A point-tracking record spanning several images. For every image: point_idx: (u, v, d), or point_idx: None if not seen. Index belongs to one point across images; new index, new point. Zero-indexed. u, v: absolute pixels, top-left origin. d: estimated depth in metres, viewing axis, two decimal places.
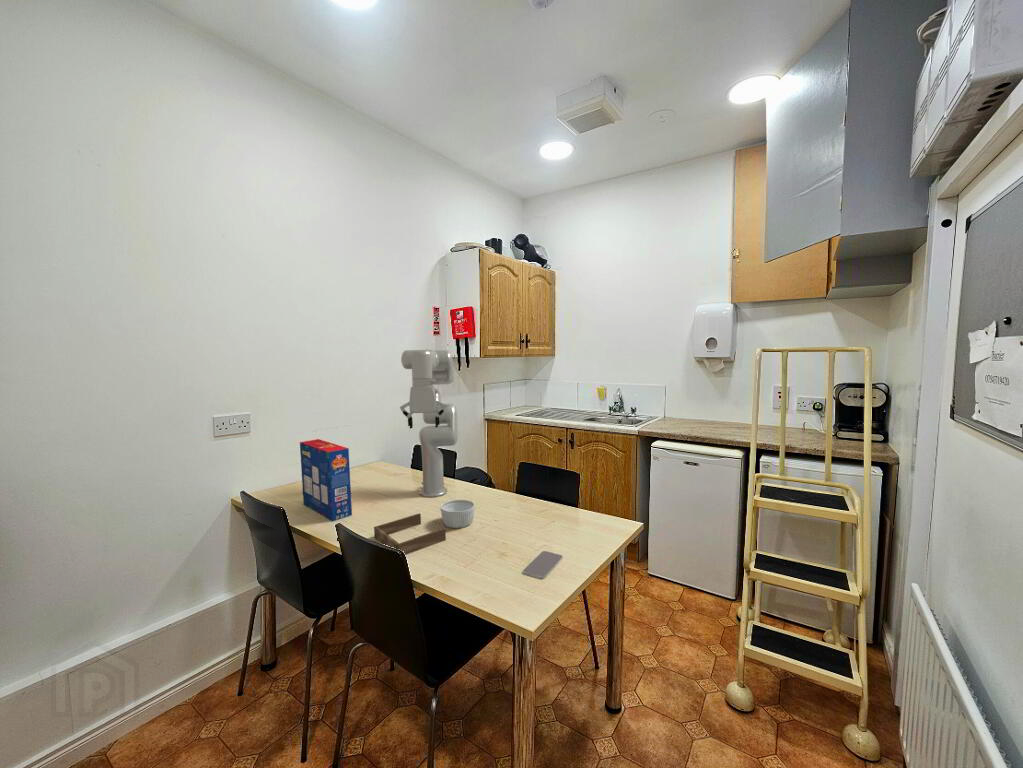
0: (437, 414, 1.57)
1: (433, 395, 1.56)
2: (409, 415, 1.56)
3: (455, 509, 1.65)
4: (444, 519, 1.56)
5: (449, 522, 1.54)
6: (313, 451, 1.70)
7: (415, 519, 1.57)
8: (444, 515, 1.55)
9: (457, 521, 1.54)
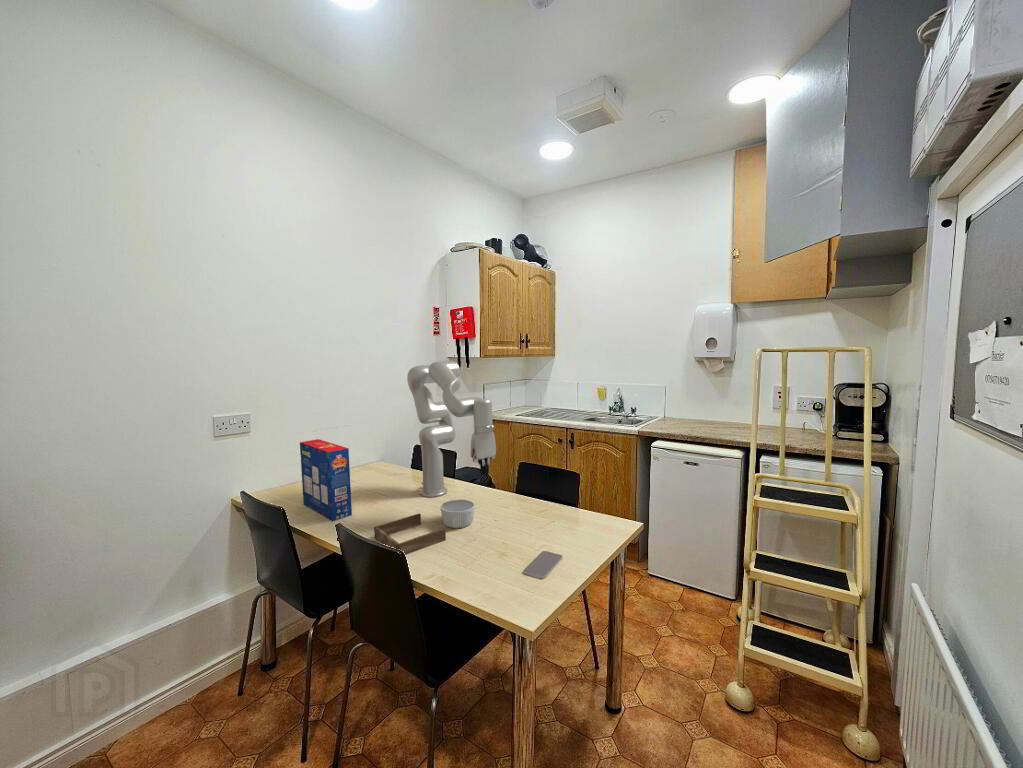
0: (489, 462, 1.66)
1: (494, 440, 1.67)
2: (484, 463, 1.65)
3: (455, 509, 1.65)
4: (444, 519, 1.56)
5: (449, 522, 1.54)
6: (313, 451, 1.70)
7: (415, 519, 1.57)
8: (444, 515, 1.55)
9: (457, 521, 1.54)
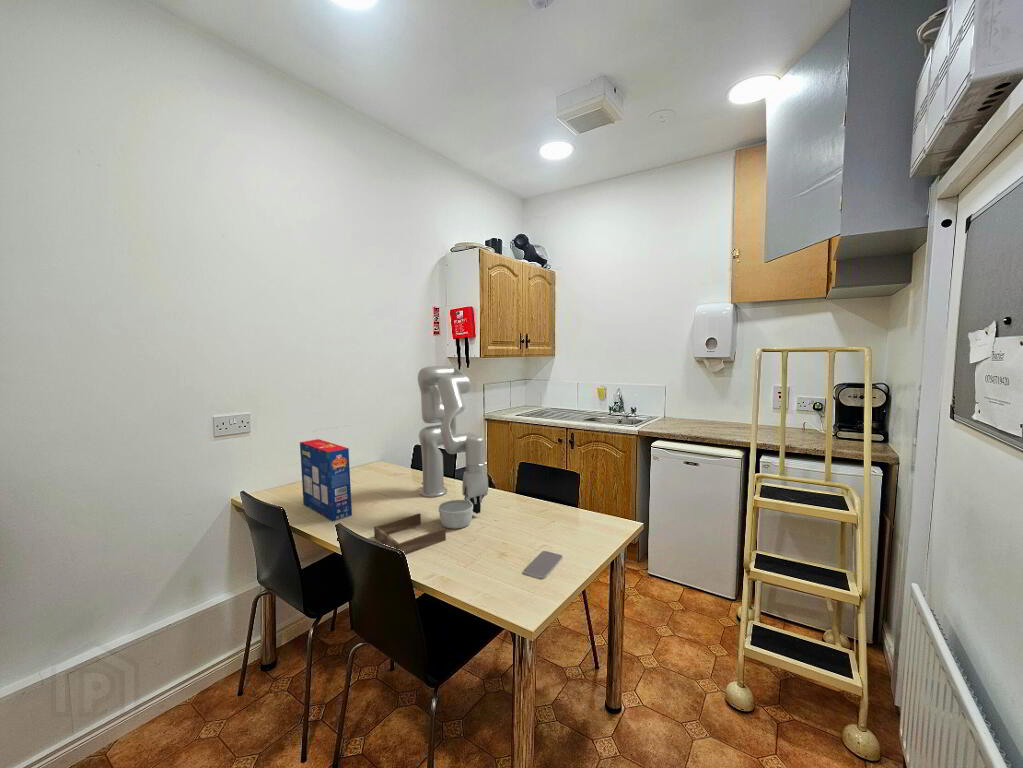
0: (481, 500, 1.65)
1: (487, 477, 1.65)
2: (476, 501, 1.64)
3: (453, 509, 1.64)
4: (442, 520, 1.55)
5: (447, 523, 1.54)
6: (313, 451, 1.70)
7: (415, 519, 1.57)
8: (442, 515, 1.55)
9: (455, 521, 1.53)
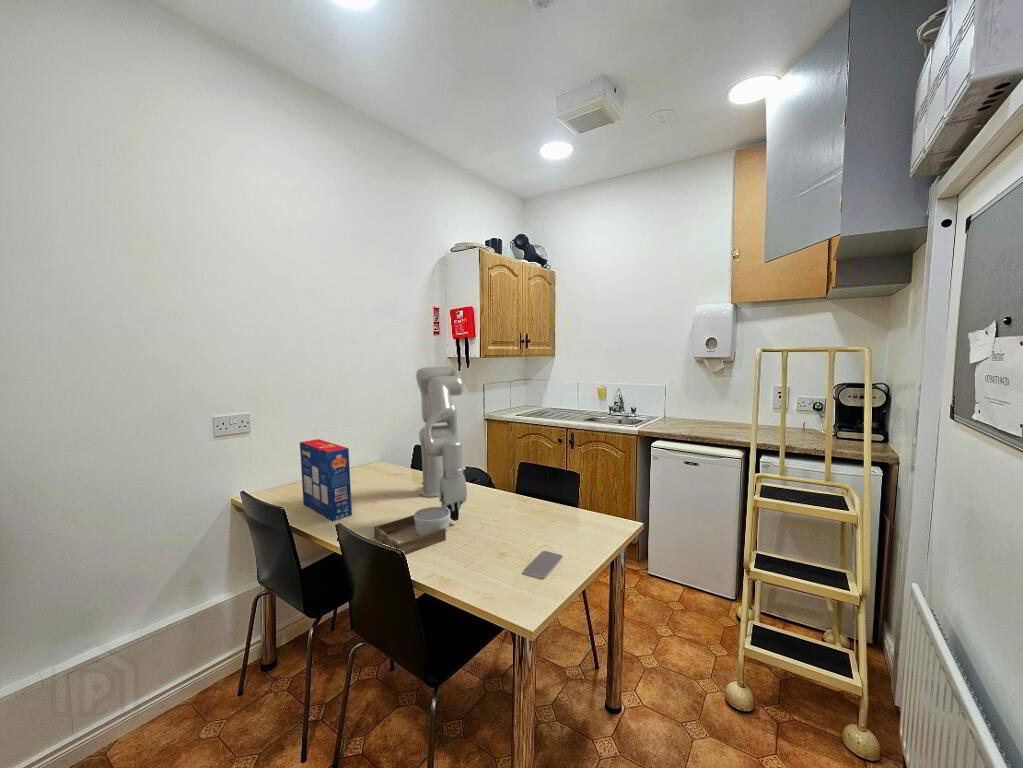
0: (459, 506, 1.58)
1: (465, 483, 1.59)
2: (454, 508, 1.57)
3: (430, 517, 1.57)
4: (417, 528, 1.48)
5: (422, 531, 1.47)
6: (313, 451, 1.70)
7: None
8: (417, 524, 1.48)
9: (430, 530, 1.46)
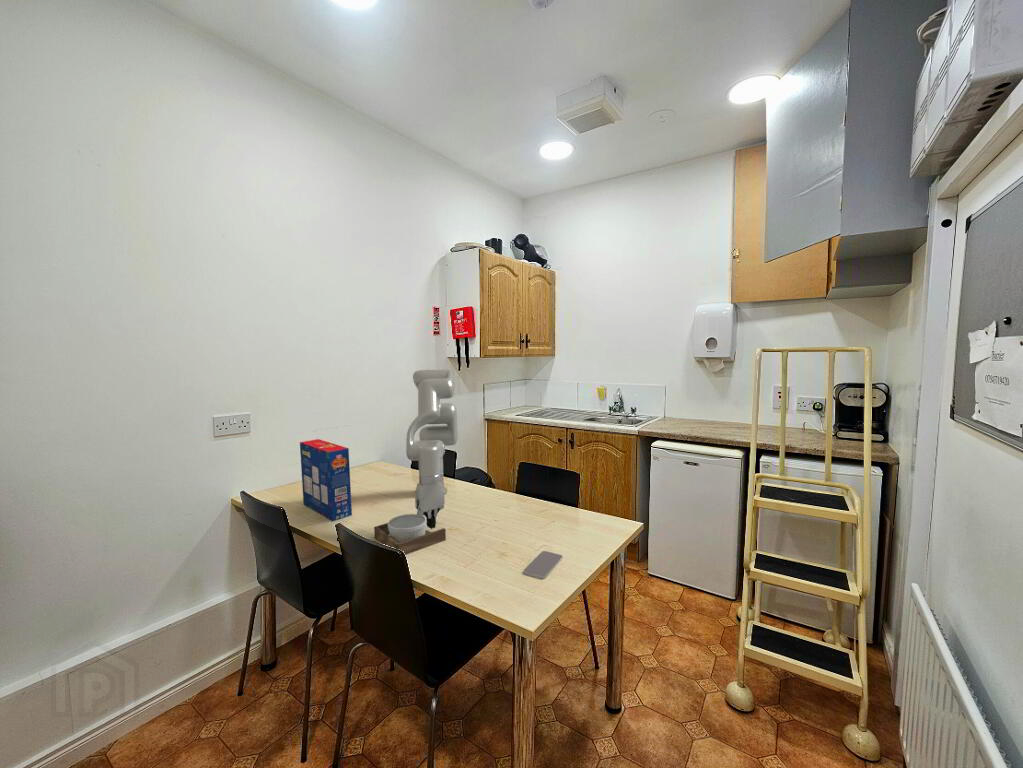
0: (436, 514, 1.52)
1: (442, 489, 1.52)
2: (430, 515, 1.50)
3: (406, 525, 1.51)
4: (391, 537, 1.42)
5: (396, 540, 1.40)
6: (313, 451, 1.70)
7: None
8: (391, 532, 1.41)
9: (405, 539, 1.40)
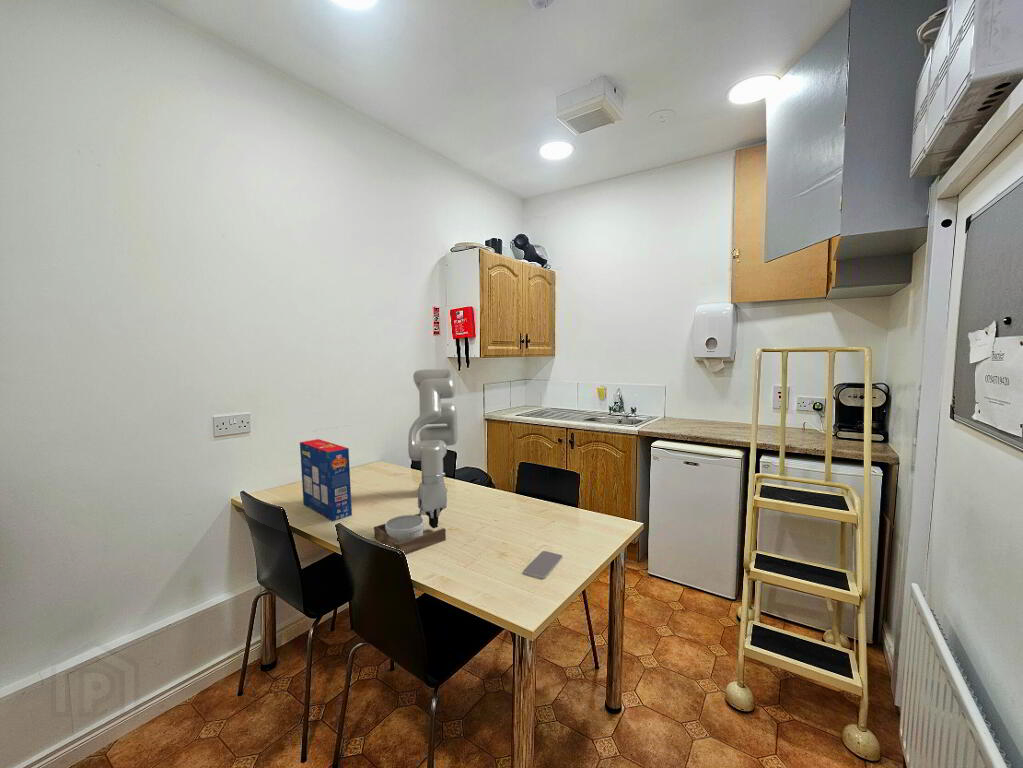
0: (438, 513, 1.52)
1: (445, 489, 1.53)
2: (433, 515, 1.51)
3: (404, 526, 1.50)
4: None
5: None
6: (313, 451, 1.70)
7: None
8: (388, 533, 1.40)
9: (402, 540, 1.39)
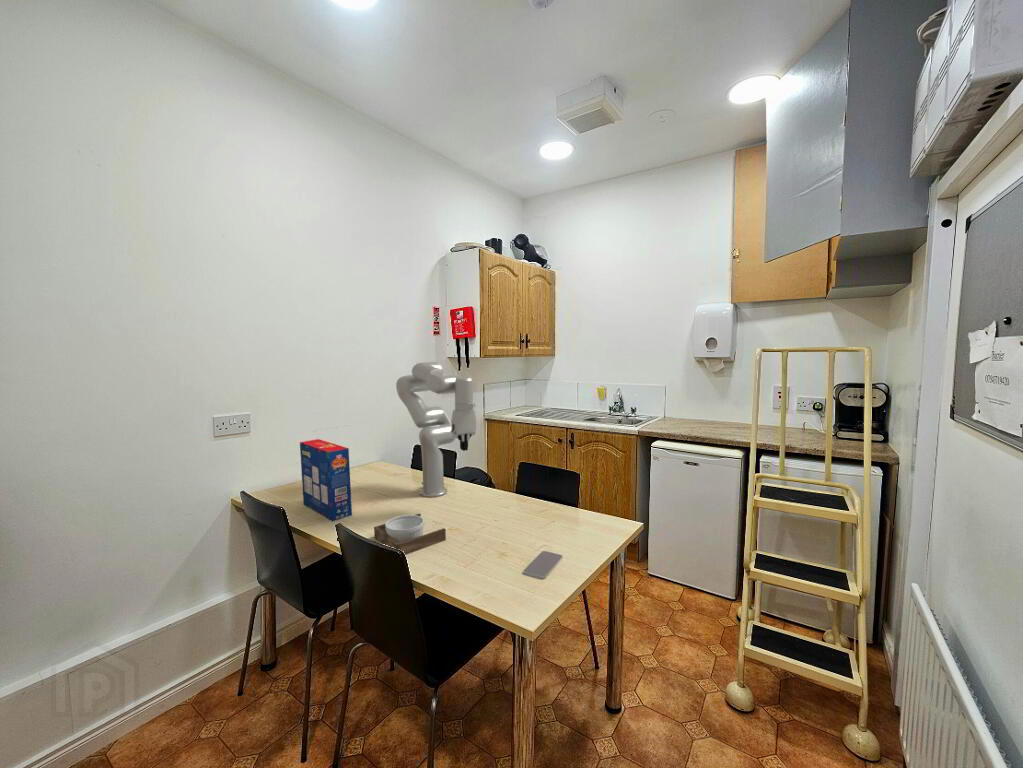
0: (468, 438, 1.73)
1: (475, 417, 1.73)
2: (464, 439, 1.71)
3: (404, 526, 1.50)
4: None
5: None
6: (313, 451, 1.70)
7: None
8: (388, 533, 1.40)
9: (402, 540, 1.39)
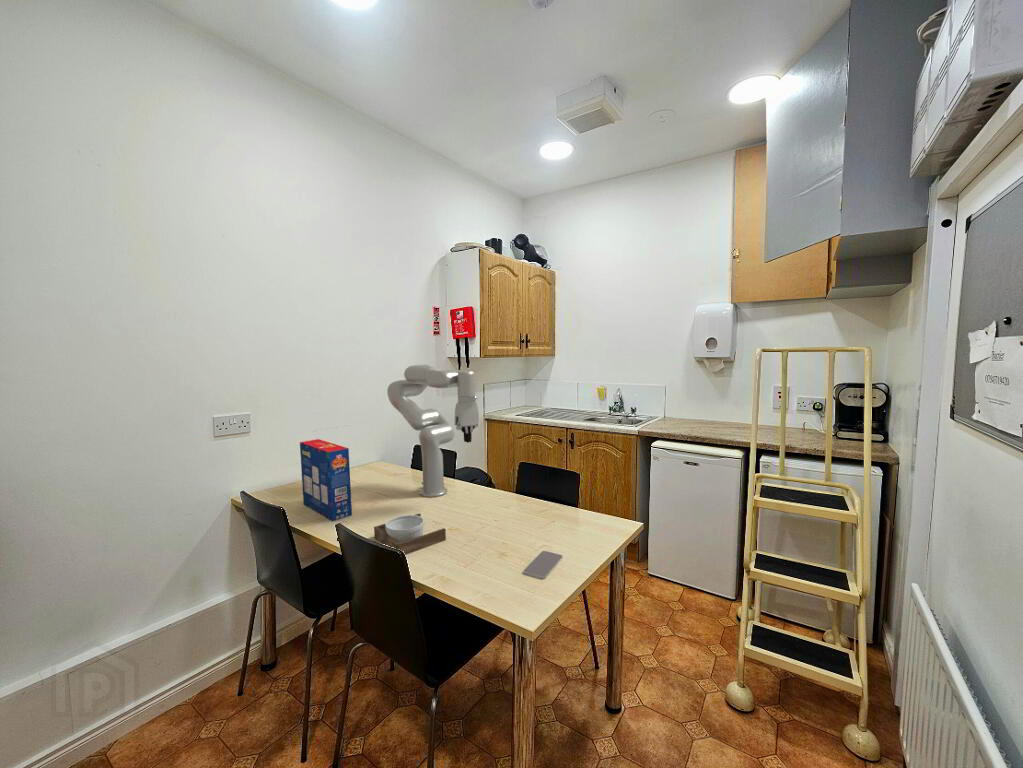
0: (471, 430, 1.77)
1: (477, 409, 1.78)
2: (467, 431, 1.76)
3: (404, 526, 1.50)
4: None
5: None
6: (313, 451, 1.70)
7: None
8: (388, 533, 1.40)
9: (402, 540, 1.39)
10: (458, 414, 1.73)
